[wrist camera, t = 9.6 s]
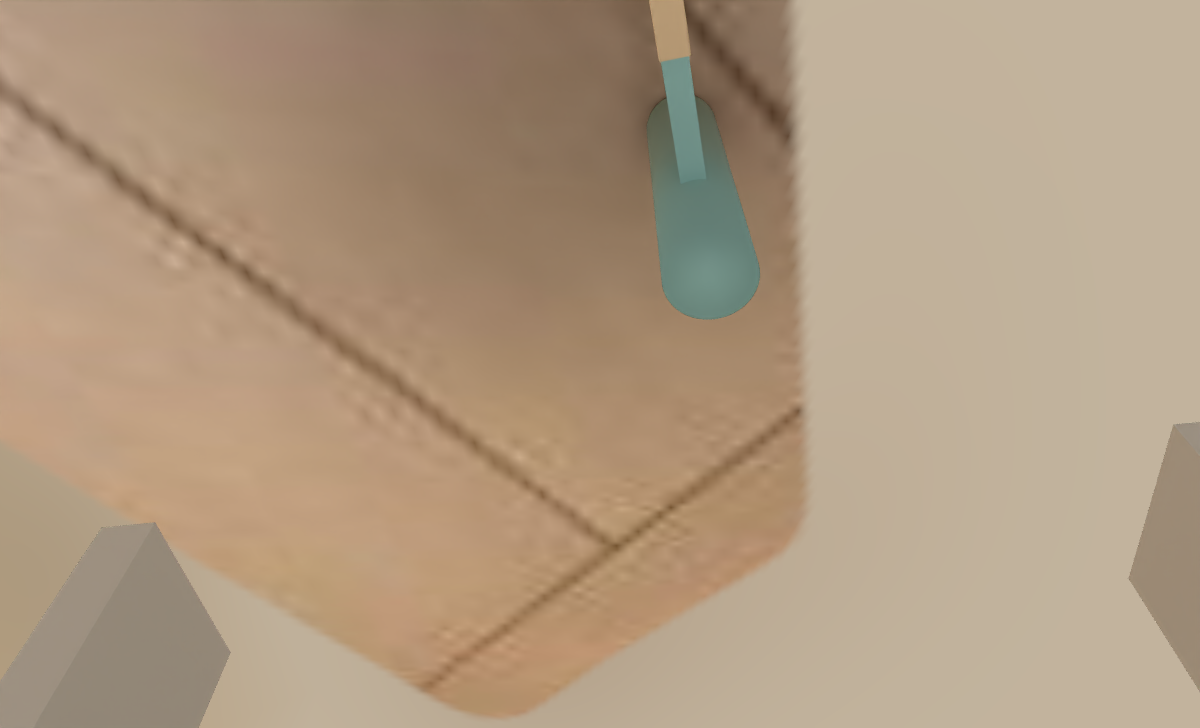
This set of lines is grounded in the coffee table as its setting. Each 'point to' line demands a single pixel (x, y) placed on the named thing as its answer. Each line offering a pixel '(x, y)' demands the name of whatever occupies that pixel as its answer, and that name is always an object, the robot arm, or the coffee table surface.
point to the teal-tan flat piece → (694, 188)
